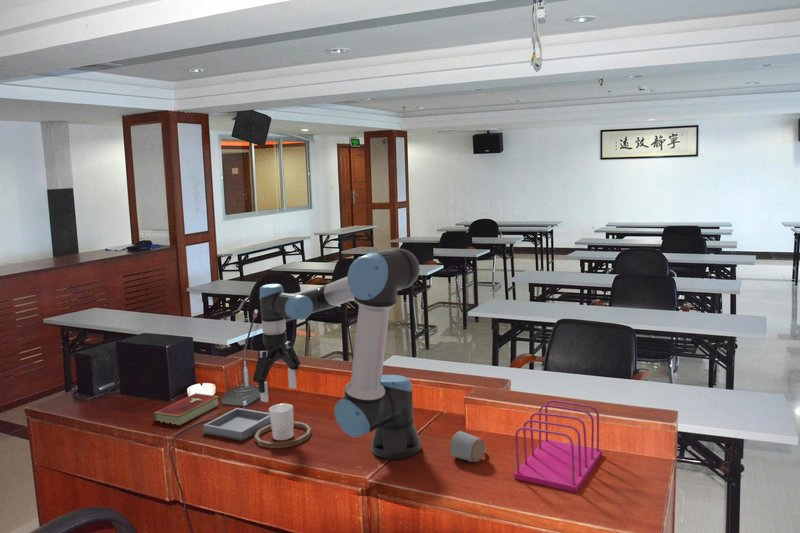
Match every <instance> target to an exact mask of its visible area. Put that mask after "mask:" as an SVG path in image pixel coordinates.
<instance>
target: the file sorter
mask: <svg viewBox="0 0 800 533" xmlns="http://www.w3.org/2000/svg"><path fill="white" fill-rule="evenodd" d="M550 403H559V404H565V405H571V406H577V407H583V408H588V409H589V408H590V409H592V410H593V411H594V412H595V413H596V448H594V445H595V444H594V443H595V442H594V437H595V433H594V431H595V430H594V429H595V427H594V426H595V421H594V417H593V415H592V414H591V413H590V412H589V411H587V410H584V409H577V408H572V407H565V406H560V405H553V404H550ZM543 408H544V409H545V410H544V411H545V412H542V410H543ZM548 408H552V409H553V408H554V409H561V410H566V411H567V410H568V411H572V412H578V413H584V414H586V415H588V416H589V417H590V420H591V438H590V440H591V443H590V444H591V447H588V446H587V430H586V425H585V423H584V421H583V420H582V419H581V418H579V417H576V416H570V415H563V414H555V413H548ZM535 416H538V420H536V419H533V418H534V417H535ZM542 416H545V421H543V420H542ZM548 417H555V418H556V417H558V418H563V419H571V420H576V421H578V422H580V424H581V425H582V427H583V428H582V430H583V443H584V444H583V445H582V444H581V434H580V432H579V430H578V428H576V427H575V426H573V425H570V424H563V423H559V422H558V423H556V422H550V421H548ZM533 423H534V424H535V423H536V424H537V423H538V428H533ZM528 424H529V427H526V426H527V425H528ZM543 424H544V425H545V429H542V425H543ZM549 425H550V426H556V427H563V428H569V429H572V430H574V431H575V432H576V435H577V443H578V444H574V441H573V439H572V438H571V437H570V436H569V435H568V434H566V433H564V432H559V431H552V430H549V429H548V426H549ZM522 430H523V432H522V433H523V450H524V452H523V453H524V454H523V455H524V462H523V463H522V464H520V454H519V442H518V438H519V437H518V434H519V432H520V431H522ZM526 431H530V443H531V454H530V455H529V456H528V451H527V432H526ZM534 432H538V436H539V437H538V438H539V439H538V446H537V447H536V448H535V446H534ZM542 433H545V439H544V440H543V441H542ZM548 434H552V435H558V436H563V437H565V438H567V439H568V441H569V443H567V442H562V441H558V440H557V441H556V440H552V439H549V437H548V436H549V435H548ZM514 438H515V440H514V442H515V454H516V456H515V459H516V460H515V461H516V471H514V473H513V475H514V476H513V478H514V479H516V480H520V481H524V482H528V483H529V482H530V483H532V484H538V485H541V486H546V487H547V486H548V487H550V488H556V489H559V490H563V491H567V492H572V493H577V492H578V491H579V489H580V488H581V486H582V485H583V484H584V482H585V480H586V479H587V478H588V476H589V475H590V473H591V472H592V470H593V469H594V467H595V466H596V464H597V463H598V462H599V460H600V459H601V457H602V455H603V451H602V450H603V449H600V413H599V410H598V409H597V408H595V407H594V406H592V405H589V404H583V403H576V402H570V401H564V400H557V399H552V400H548V401H547V402H546V404H543V405H542V406H541V407H540V408H539V411H538V412H534V413H533V414H532V415H530V419H528V420H527V421H526V422H524V424H523V427H520V428H518V429H517V430H516V431H515V437H514Z"/></svg>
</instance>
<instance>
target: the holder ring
mask: <svg viewBox="0 0 800 533" xmlns="http://www.w3.org/2000/svg"><path fill="white" fill-rule="evenodd" d="M293 423H294V427H295V428H298V429H303V430H305V431H306V433H305V434H303V435H301V436H300V437H298V438H295V439H291V440H290V439H289V440H285V441H275V442H273V441H272V442H270V441H267V440H264V439H263V440H262V439H261V438H260V437H261V436H262V435H263V434H265V433H267V432H269V431H270V430H271V431H272V428H271V424H270V425H267V426H265V427H263V428H261V429H259V430H258V431H257V433H255V434H254V435H253V436H254V441H255V443H256V442H257V443H256V444H257V445H258V446H259V447H264V448H268V449H282V448H283V449H284V448H289V447H293V446H297V445H300V444H302V443H304V442H305V441H307V440H309V439H310V437H311V435H312V428H311V427H310V426H309V424H307V423H305V422H301V421H296V420H295V421H294V422H293ZM294 427H293V428H294Z"/></svg>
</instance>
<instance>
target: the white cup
mask: <svg viewBox="0 0 800 533" xmlns="http://www.w3.org/2000/svg"><path fill="white" fill-rule="evenodd" d="M268 413H269V415H270V422H271V428H272V430H271V431H272V438H273V440H275V441H288V440H290V439H292V438H293V437H294V435H295V434H294V423H293V422H294V406H293V404H290V403H279V404H278V403H276V404H274V405H272V406H270V407H269V408H268Z"/></svg>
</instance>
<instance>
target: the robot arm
mask: <svg viewBox="0 0 800 533" xmlns="http://www.w3.org/2000/svg"><path fill="white" fill-rule="evenodd" d="M420 270H421V269H420V264H419V260H418V258H417V257H416V256H415V254H414V253H413V252H411V251H410V250H407V249H405V248H393V249H389V250H384V251H380V252H379V251H378V252H370V253H367V254H365V255H362V256H359V257H358V258H356V259H355V260H353V262H352V263H351V264H350V266H349V268H348V272H347V276H345V277H342V278H340V279H337V280H334V281H332V282H330V283H327V284H325V285H321V286H319V287H316V288H312V289H306V290H303V291H299V292H294V293H287V292H285V290H284V288H283V285H282V284H280V283H269V284H264V285H262V286H260V287H259V303H260V304H259V305H260V316H261V330H262V332H263V334H262V342H263V345H264V347H265V350H259V351H257V352H258V354H257V361H256V365H255V370H254V373H253V378H252V382H253V383H257V384H258V385H257V386H258V392H259V395H260V402H262V403H263V402H264V403H269V402H270V401H269V390H268V382H267V381H266V380H267V378H268V375H269V374H270V371H271V369H272V366H273V365H274V364H275V362H277V361H279V360H282V362H284V364H286V366H287V367H288V368H287V378H288V379H287V380H288V388H289V389H294V390H296V389H297V370H298V369H299V368H300V366H301V361H300V359H299V357H298V354H297V353H296V350H295V349H294V346H293V342H292V341H288V337H287V336H288V335H287V332H286V330H287V325H286V324H287V323H286V318H288V319H292V320H297V321H298V320H306V319H308V317H309V316H311V314H314V313H318V312H321V311H325V310H329V309H333V308H335V307H338V306H339V305H342V304H345V303H348V302H350V301H355V303H356V304H357V305H358V309H357V311H358V314H357V320H356V321H357V322H356V328H355V329H356V330H355V341H354V350H353V359H352V367H351V368H352V369H351V379H350V381H349V382H347V383H346V384H345V387H344V395H343V398H340V399H339V400H338V401H337V402H336V404H335V406H334V416H335V420H336V422H337V424H338V426H339V427H340V428H341V430H342V431H343V432H344V433H345V434H347V435H348V436H350V437H354V438H359V437H362V436H364V435H367V434H369V433H371V432H372V431H374V433H373V436H372V440H371V452H372V453H373V455H375V456H376V457H379V458H381V459H387V460H402V459H405V458H409V457H412V456H415V455H416V454H418V453H419V452H420V450H421V439H420V437H419V433H418V431H417V429H416V426H415V424H414V423H415V422H414V404H413V403H414V402H413V400H414V399H413V387H412V381H411V379H409V378H408V377H406V376H403V375H398V374H383V369H384V368H383V367H384V360H385V352H386V343H387V337H388V336H387V334H388V327H389V326H388V325H389V319H390V318H389V316H390V309H392V308H393V307H394V306H395V305H396V303H397V297H398V291H403V290H404V289H407V288H410V287H411V286H412V285H414V283H415V282H416V281H417V280H418V279H419V275H420Z"/></svg>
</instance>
